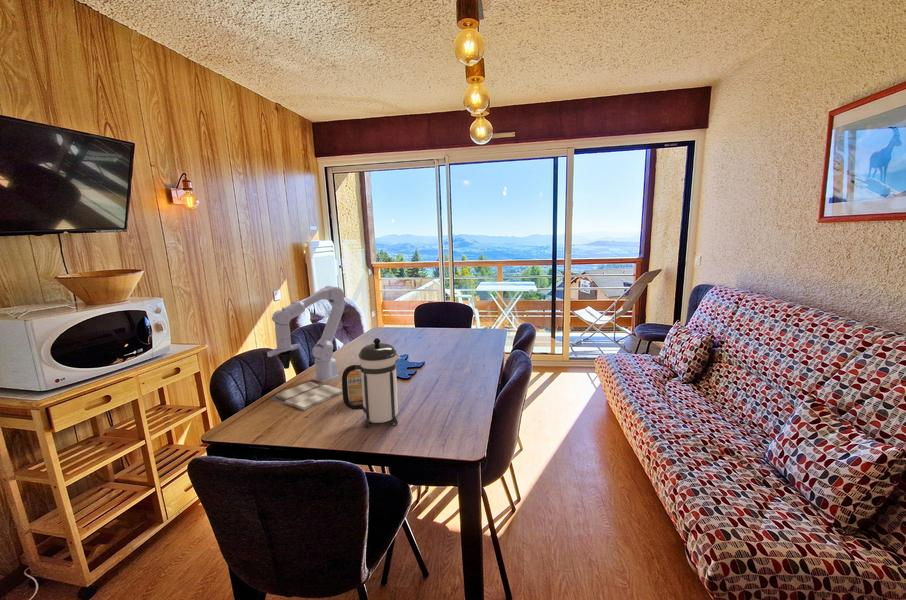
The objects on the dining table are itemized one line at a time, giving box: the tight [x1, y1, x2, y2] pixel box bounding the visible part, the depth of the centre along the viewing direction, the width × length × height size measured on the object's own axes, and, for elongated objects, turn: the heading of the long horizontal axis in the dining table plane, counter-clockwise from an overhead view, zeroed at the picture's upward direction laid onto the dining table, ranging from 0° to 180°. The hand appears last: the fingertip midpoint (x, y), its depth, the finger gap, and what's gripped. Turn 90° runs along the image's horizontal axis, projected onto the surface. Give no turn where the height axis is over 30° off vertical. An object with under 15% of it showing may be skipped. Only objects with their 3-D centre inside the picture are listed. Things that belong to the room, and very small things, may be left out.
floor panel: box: [270, 384, 343, 412], centre depth 151 cm, size 20×22×2 cm
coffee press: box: [341, 337, 402, 429], centre depth 127 cm, size 17×16×30 cm
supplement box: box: [347, 369, 363, 403], centre depth 147 cm, size 8×5×13 cm, turn 106°
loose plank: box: [275, 381, 320, 401], centre depth 155 cm, size 16×7×1 cm, turn 148°
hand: (286, 368), depth 159 cm, fingers closed
